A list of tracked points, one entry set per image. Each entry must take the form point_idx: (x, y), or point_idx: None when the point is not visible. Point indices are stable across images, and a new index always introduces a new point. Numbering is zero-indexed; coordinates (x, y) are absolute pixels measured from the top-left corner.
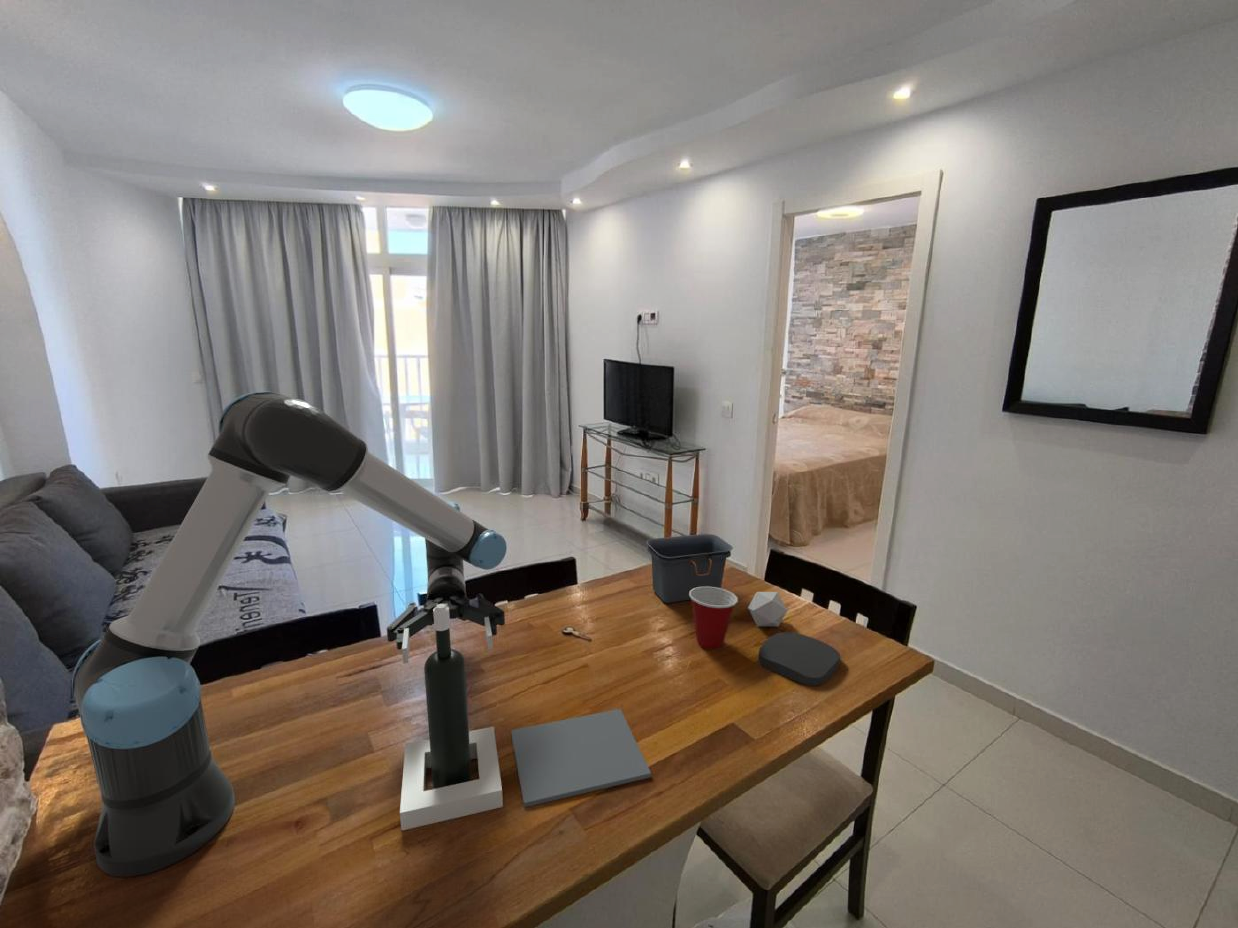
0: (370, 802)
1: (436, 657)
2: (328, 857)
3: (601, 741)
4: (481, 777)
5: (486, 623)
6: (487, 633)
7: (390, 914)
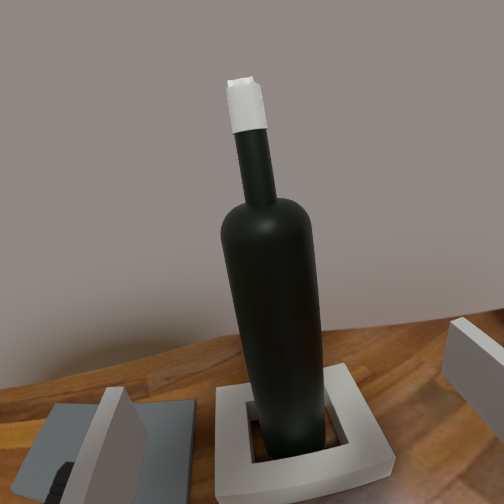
0: (404, 406)
1: (277, 198)
2: (406, 355)
3: (66, 452)
4: (242, 404)
5: (87, 472)
6: (117, 400)
7: (321, 332)
